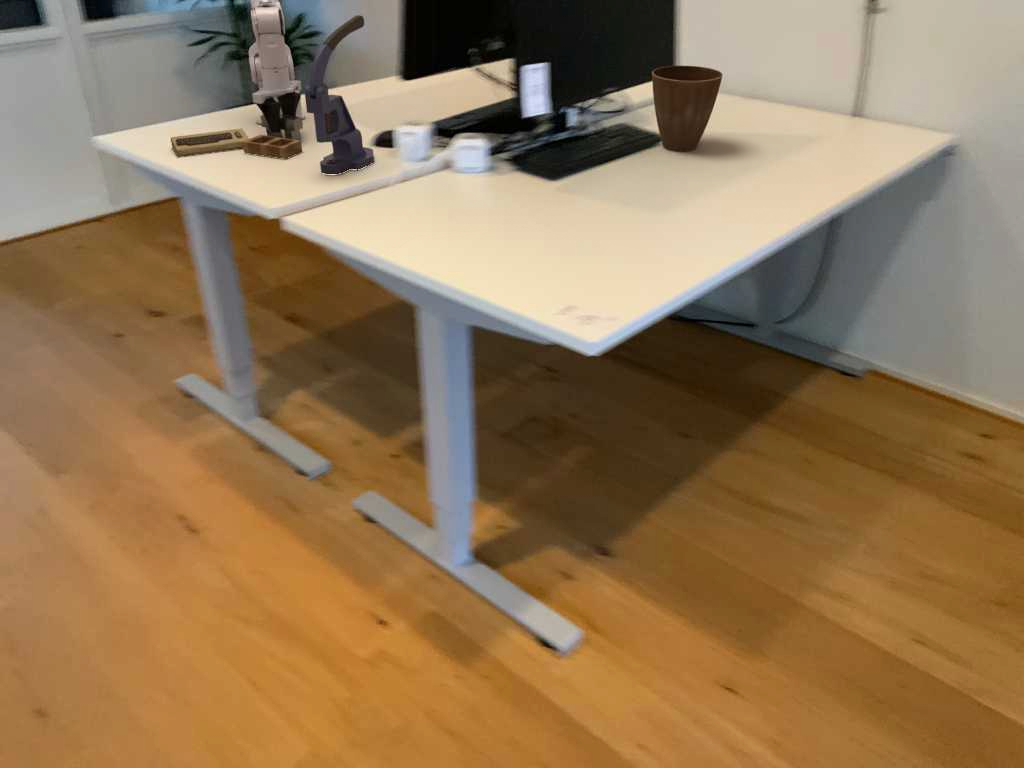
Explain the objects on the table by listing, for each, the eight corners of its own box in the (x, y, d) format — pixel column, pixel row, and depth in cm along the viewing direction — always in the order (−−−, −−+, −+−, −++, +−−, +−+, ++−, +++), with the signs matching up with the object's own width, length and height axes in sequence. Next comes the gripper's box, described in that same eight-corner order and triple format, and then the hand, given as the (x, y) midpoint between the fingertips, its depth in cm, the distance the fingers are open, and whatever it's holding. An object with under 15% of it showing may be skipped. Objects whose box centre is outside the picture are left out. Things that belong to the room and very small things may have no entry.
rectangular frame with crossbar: (261, 145, 190) (260, 134, 189) (302, 152, 187) (300, 140, 185) (244, 153, 186) (242, 141, 184) (285, 159, 182) (283, 148, 181)
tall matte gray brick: (272, 136, 197) (269, 112, 194) (304, 141, 194) (301, 116, 191) (264, 140, 194) (260, 115, 191) (296, 144, 191) (293, 120, 188)
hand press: (340, 180, 171) (324, 31, 156) (304, 174, 174) (285, 27, 159) (389, 155, 185) (379, 16, 170) (356, 149, 188) (343, 13, 173)
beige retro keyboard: (178, 159, 183) (175, 144, 181) (172, 149, 189) (169, 134, 187) (252, 150, 189) (249, 135, 188) (243, 140, 195) (241, 126, 194)
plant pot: (698, 161, 182) (708, 83, 174) (634, 150, 189) (640, 75, 180) (722, 143, 193) (732, 70, 185) (661, 134, 200) (668, 62, 191)
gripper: (267, 74, 178) (277, 139, 186) (309, 61, 190) (316, 123, 197) (241, 71, 181) (251, 135, 188) (283, 59, 192) (291, 119, 199)
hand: (282, 129), depth 193 cm, fingers open, 5 cm apart
